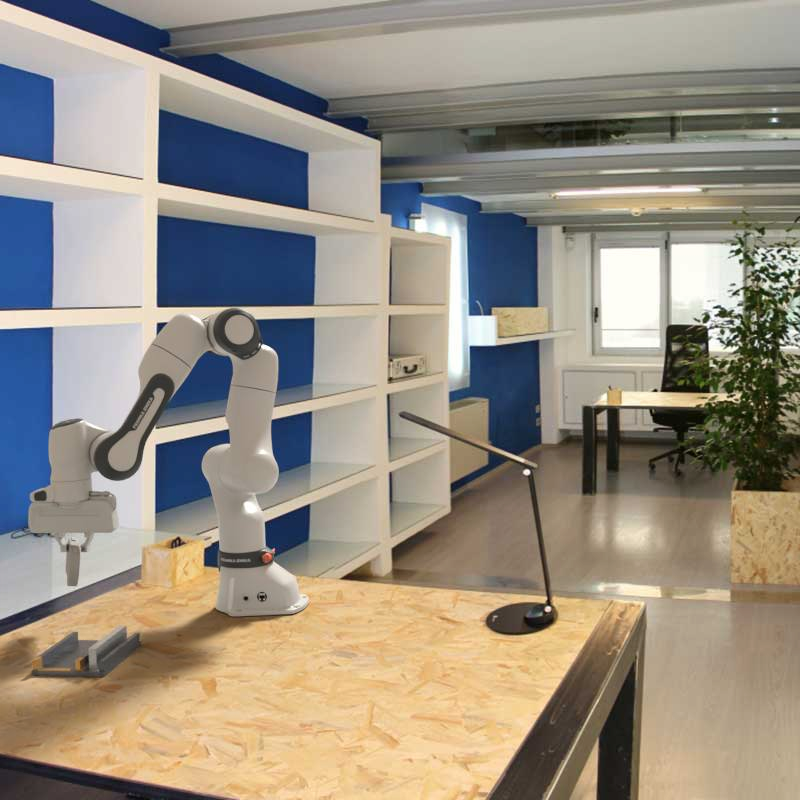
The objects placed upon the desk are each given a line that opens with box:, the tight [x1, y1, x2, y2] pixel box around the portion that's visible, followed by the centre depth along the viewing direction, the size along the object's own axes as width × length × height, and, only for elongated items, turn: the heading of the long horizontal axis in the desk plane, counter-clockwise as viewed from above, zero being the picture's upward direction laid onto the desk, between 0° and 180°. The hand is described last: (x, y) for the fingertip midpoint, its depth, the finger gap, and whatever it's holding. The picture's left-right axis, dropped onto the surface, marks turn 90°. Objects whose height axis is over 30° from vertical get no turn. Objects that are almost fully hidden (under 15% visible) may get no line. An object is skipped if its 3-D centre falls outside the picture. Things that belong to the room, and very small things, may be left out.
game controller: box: [65, 536, 81, 587], centre depth 231 cm, size 20×2×8 cm, turn 20°
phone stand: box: [31, 625, 142, 678], centre depth 211 cm, size 15×19×5 cm
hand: (75, 551), depth 231 cm, fingers open, 3 cm apart
